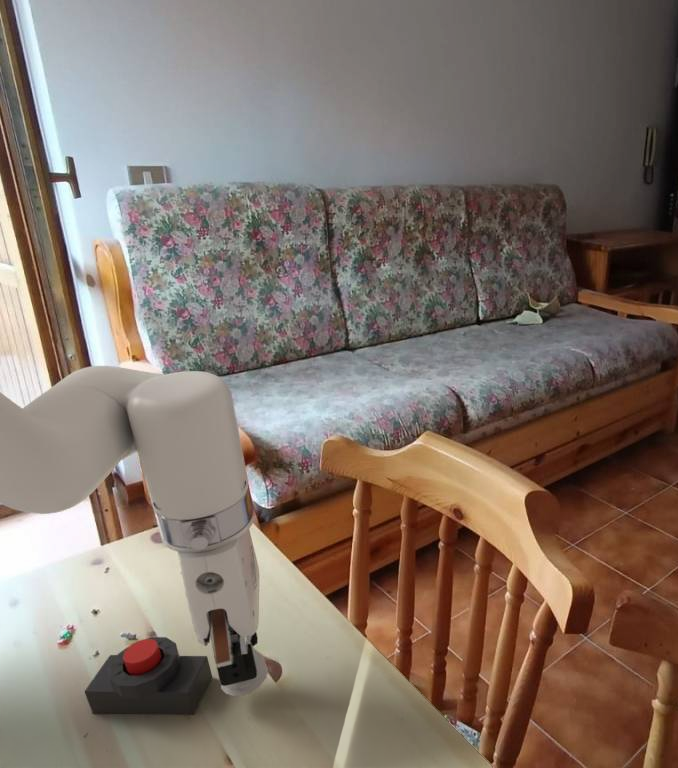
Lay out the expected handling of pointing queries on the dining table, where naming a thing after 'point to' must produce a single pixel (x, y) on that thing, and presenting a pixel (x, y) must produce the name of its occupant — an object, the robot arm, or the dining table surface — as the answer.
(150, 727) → the dining table surface
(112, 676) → the power button base
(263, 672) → the rook chess piece
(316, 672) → the dining table surface
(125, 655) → the power button
